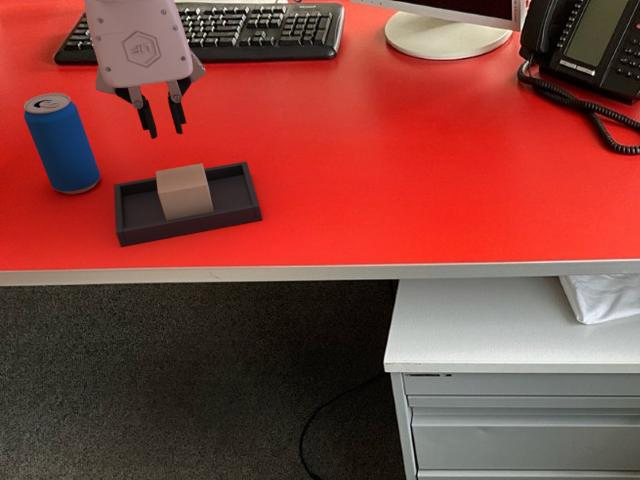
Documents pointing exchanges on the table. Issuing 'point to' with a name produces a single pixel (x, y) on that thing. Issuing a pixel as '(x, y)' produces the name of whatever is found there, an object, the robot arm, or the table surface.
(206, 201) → the pad
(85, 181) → the beverage can
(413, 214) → the table surface
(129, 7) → the robot arm
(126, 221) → the tray
